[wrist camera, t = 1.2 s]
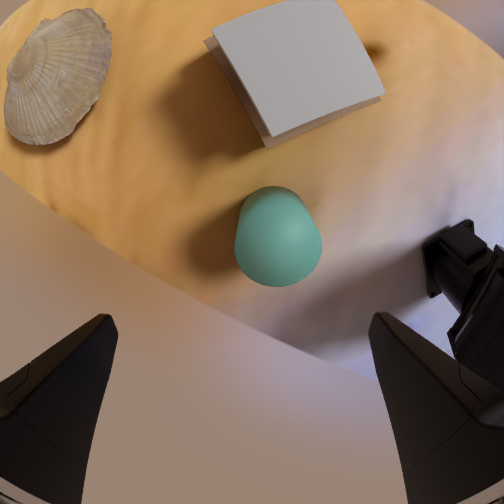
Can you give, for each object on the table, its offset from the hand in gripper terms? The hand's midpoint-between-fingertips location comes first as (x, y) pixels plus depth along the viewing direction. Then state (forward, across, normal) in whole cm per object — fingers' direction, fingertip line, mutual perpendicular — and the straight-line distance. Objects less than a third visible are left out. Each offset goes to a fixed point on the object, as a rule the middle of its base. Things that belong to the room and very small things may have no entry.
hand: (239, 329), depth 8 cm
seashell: (+13, +15, -13) cm, 24 cm away
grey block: (+10, -3, -10) cm, 14 cm away
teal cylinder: (+12, -2, +1) cm, 13 cm away
